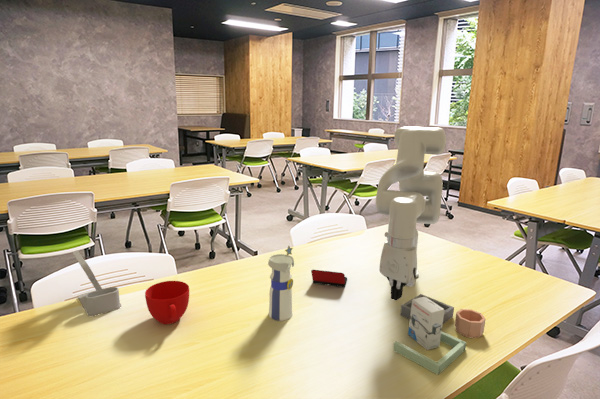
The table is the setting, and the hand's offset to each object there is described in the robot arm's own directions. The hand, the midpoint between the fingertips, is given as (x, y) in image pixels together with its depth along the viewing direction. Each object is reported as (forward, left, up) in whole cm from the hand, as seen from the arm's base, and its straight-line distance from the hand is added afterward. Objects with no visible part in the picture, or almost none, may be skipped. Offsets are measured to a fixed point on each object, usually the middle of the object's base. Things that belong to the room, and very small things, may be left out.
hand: (396, 298), depth 115 cm
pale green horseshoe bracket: (+12, -1, -11) cm, 16 cm away
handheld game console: (-35, +9, -11) cm, 38 cm away
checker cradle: (+2, +15, -11) cm, 19 cm away
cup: (+15, +17, -11) cm, 26 cm away
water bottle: (-30, -20, -11) cm, 37 cm away
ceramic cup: (-49, -49, -11) cm, 70 cm away
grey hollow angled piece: (-76, -62, -11) cm, 98 cm away
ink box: (+9, +2, -11) cm, 14 cm away
